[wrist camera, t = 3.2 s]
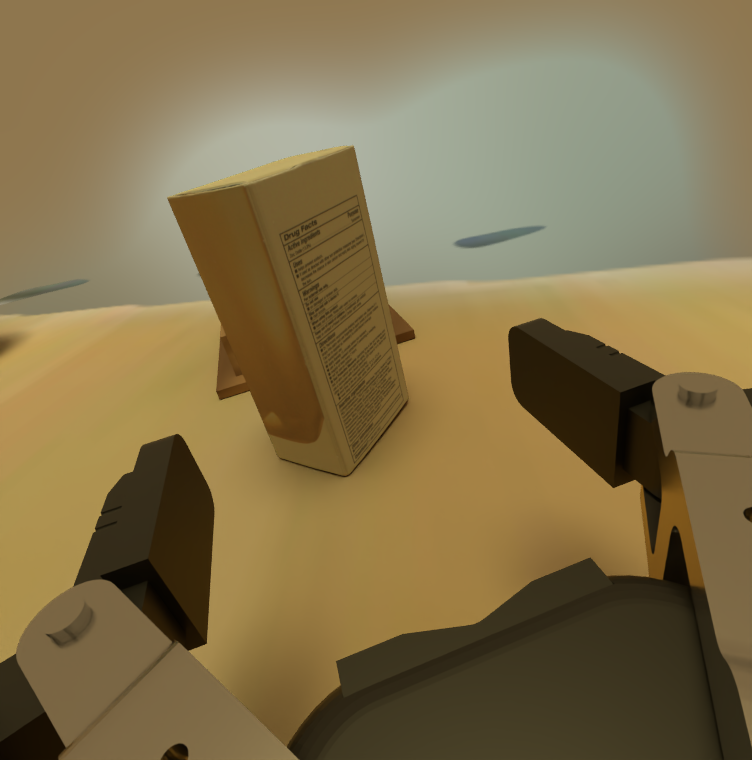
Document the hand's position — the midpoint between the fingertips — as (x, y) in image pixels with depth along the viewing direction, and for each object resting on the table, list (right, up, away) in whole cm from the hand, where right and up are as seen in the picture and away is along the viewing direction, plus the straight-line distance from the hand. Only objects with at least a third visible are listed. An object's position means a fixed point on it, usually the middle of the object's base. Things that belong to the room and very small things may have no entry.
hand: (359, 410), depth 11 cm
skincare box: (-1, -2, +12) cm, 12 cm away
